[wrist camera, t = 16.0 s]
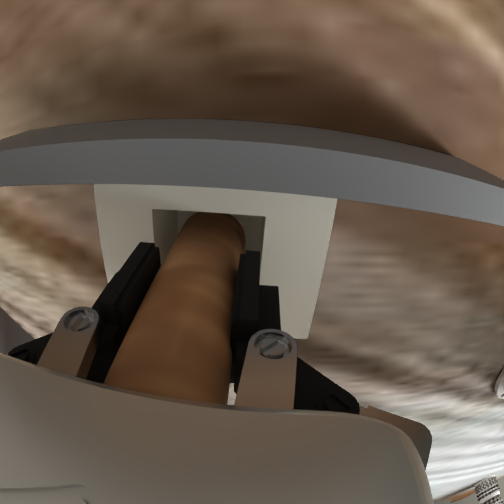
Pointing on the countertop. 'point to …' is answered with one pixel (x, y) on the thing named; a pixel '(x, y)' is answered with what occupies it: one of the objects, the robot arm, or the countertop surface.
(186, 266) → the dowel
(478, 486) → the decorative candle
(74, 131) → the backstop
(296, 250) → the socket block
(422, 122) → the countertop surface
